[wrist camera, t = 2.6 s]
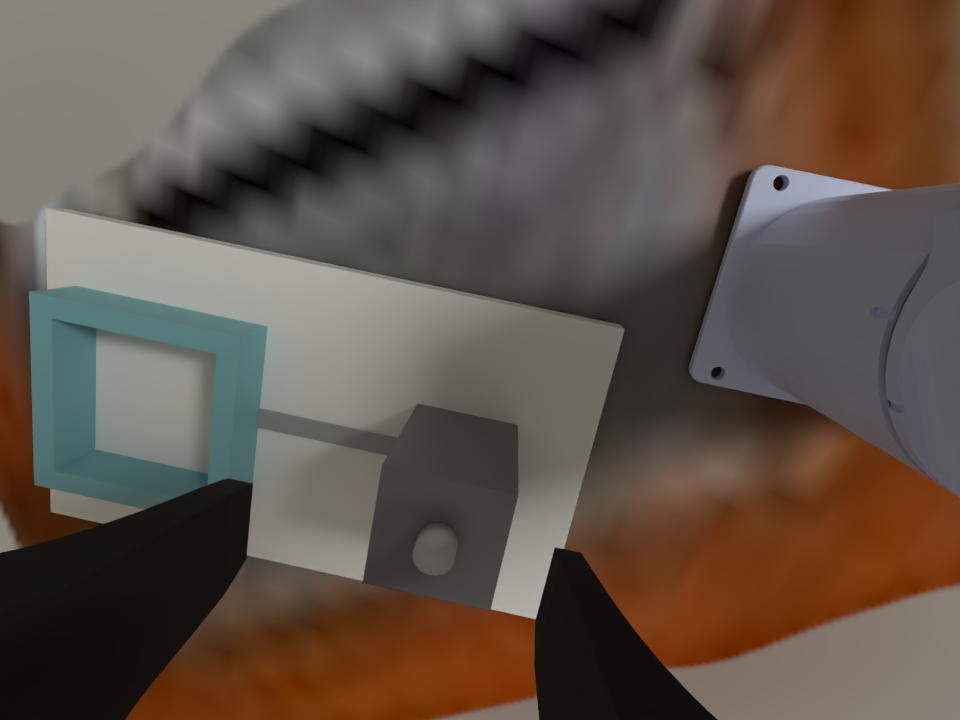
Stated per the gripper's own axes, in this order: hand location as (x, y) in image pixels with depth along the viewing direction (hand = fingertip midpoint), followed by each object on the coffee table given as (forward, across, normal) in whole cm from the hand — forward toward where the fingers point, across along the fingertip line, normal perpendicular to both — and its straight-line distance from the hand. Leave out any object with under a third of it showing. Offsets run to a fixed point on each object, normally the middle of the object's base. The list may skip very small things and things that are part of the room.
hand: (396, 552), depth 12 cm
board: (+10, +5, +2) cm, 11 cm away
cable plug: (+8, -1, +2) cm, 9 cm away
